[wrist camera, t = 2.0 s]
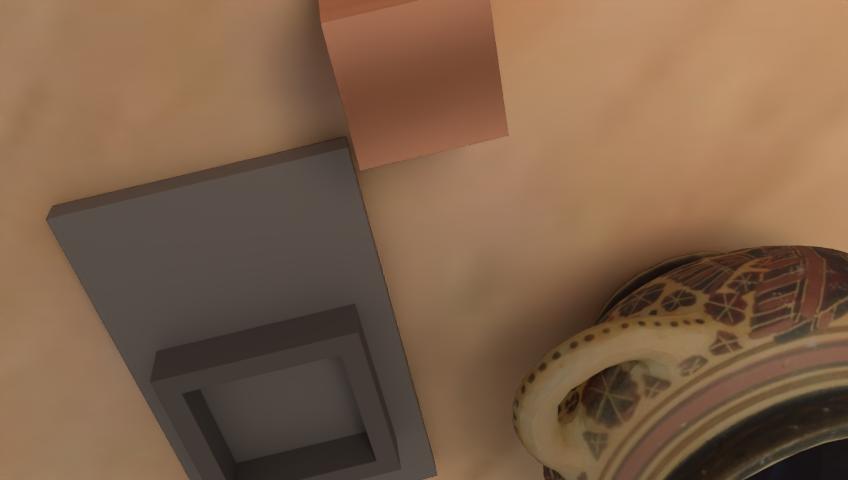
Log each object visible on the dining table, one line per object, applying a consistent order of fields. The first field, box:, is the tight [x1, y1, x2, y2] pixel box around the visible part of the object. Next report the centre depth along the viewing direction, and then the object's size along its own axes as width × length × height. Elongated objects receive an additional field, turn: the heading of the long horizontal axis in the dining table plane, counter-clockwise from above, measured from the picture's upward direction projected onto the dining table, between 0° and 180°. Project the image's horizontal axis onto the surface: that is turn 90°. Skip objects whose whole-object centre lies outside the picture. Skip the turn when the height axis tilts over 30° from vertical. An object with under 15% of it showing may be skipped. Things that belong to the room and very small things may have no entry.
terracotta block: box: [318, 0, 509, 171], centre depth 27 cm, size 5×5×6 cm
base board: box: [46, 137, 437, 480], centre depth 36 cm, size 20×12×3 cm, turn 11°
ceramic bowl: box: [513, 246, 848, 480], centre depth 34 cm, size 24×18×15 cm
